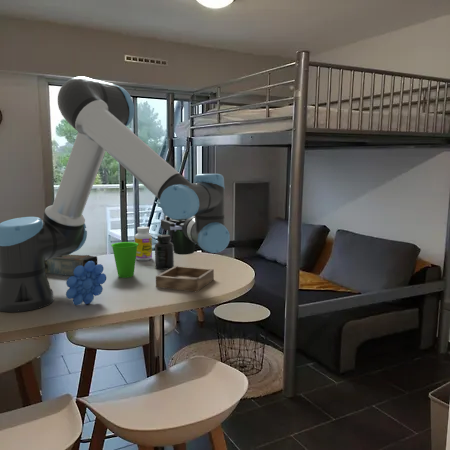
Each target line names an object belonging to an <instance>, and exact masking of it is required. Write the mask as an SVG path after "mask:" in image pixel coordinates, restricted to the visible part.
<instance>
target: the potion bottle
mask: <svg viewBox="0 0 450 450" xmlns="http://www.w3.org/2000/svg"><path fill="white" fill-rule="evenodd" d="M172 220H176V219H172ZM180 220H187V219H178V221H180ZM171 239H172V243H173V248H174V255H182V256H183V255H191V254H195V253H194V252H195V249H196V244H195V243H194V242H192V241H191V240H189V239H188V238H187V237H186V236H185V234H184V232H180V230H176V232H174V233H172V232H171Z"/></svg>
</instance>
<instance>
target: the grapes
mask: <svg viewBox="0 0 450 450" xmlns="http://www.w3.org/2000/svg"><path fill="white" fill-rule="evenodd" d="M103 272H104V266H103V264H102V263H101V264H98V263H97V265H96V266H95V263H94V262H93V261H88V262H87V263H86V264H85V266H84V267H83V266H82V265H81V266H77V267H76V268H75V269H74V272H73V273H74V276H68V278H66V282H65V284H66V286H67V287H68V289H67V290H66V291H65V292H66V293H65V296H66V299H68V300H70V299H71V300H72V303H73V305H75V306H79V305H82V303H83V304H85V305H88V304H91V303H92V302H93V301H94V298H95V297H96V296H99V295H101V294H102V292H103V290H104V289H103V284H105V283H106V281H107V275H106V274H105V273H103Z"/></svg>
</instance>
